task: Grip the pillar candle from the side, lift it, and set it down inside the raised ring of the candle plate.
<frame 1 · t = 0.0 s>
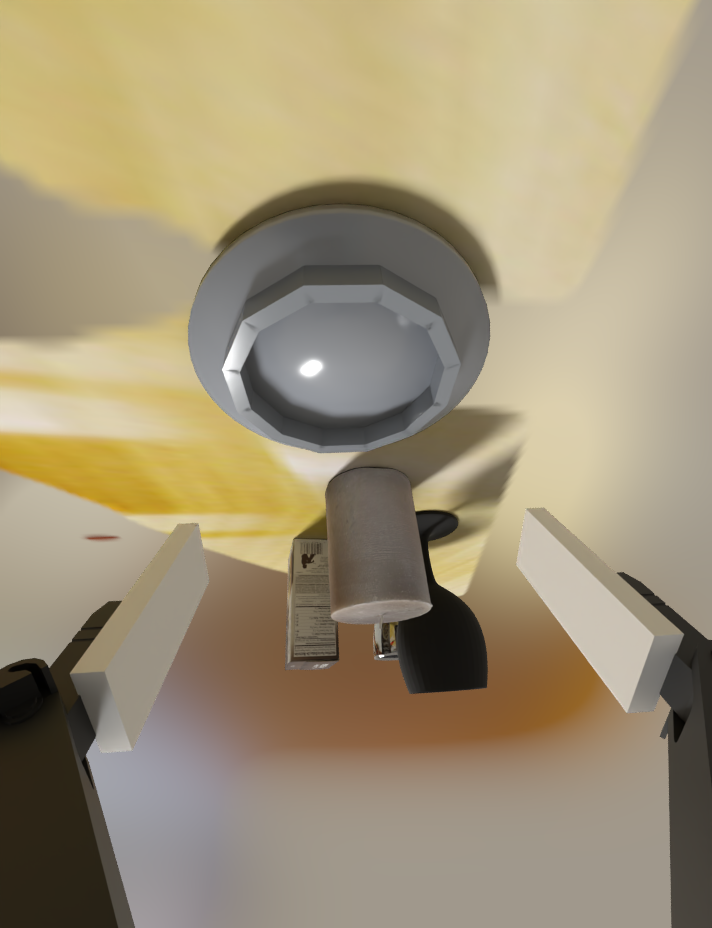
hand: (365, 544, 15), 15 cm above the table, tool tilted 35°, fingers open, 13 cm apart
coffee box: (310, 548, 59), on the table
pillar candle: (369, 486, 43), on the table
wine glass: (420, 525, 54), on the table
wine glass 2: (389, 558, 66), on the table
candle plate: (341, 360, 27), on the table
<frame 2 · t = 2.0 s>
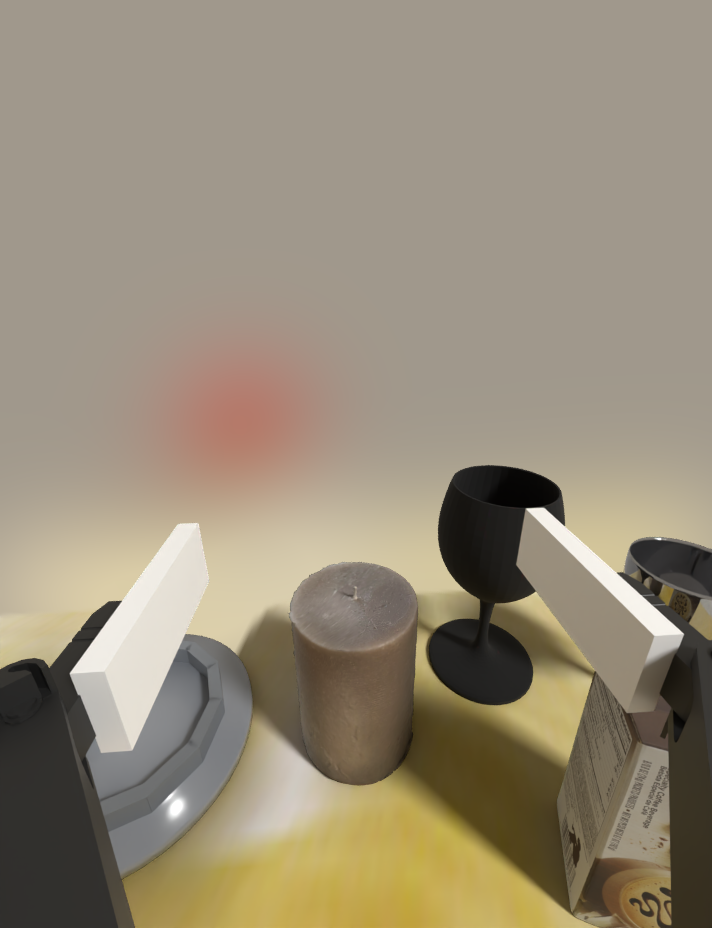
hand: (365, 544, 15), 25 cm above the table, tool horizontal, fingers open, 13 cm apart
coffee box: (638, 881, 24), on the table
pillar candle: (356, 724, 34), on the table
wine glass: (478, 659, 40), on the table
wine glass 2: (639, 699, 35), on the table
candle plate: (133, 733, 33), on the table
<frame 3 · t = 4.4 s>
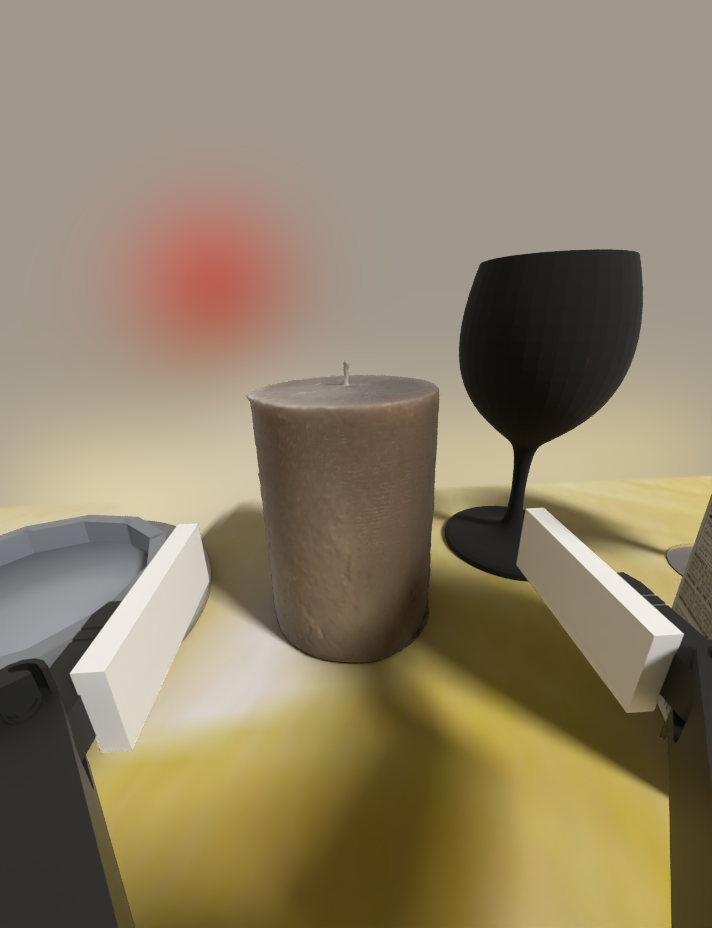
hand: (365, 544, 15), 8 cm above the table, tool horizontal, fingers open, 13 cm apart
pillar candle: (350, 603, 25), on the table
wine glass: (509, 542, 31), on the table
candle plate: (41, 614, 24), on the table
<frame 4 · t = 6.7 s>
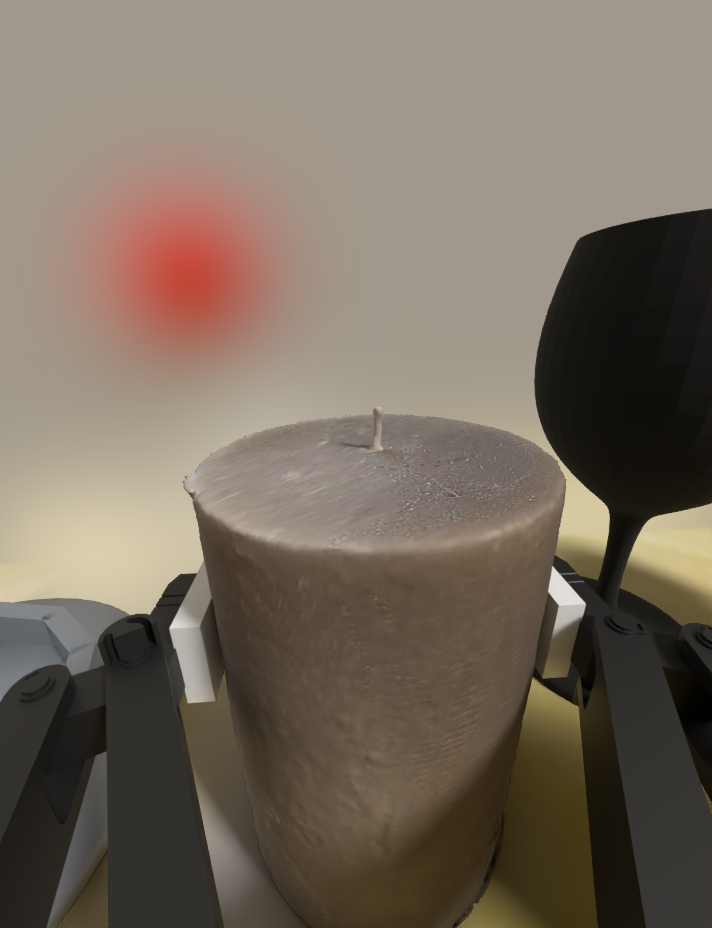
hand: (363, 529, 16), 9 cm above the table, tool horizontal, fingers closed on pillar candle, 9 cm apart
pillar candle: (373, 771, 16), on the table, touching gripper
wine glass: (593, 639, 22), on the table
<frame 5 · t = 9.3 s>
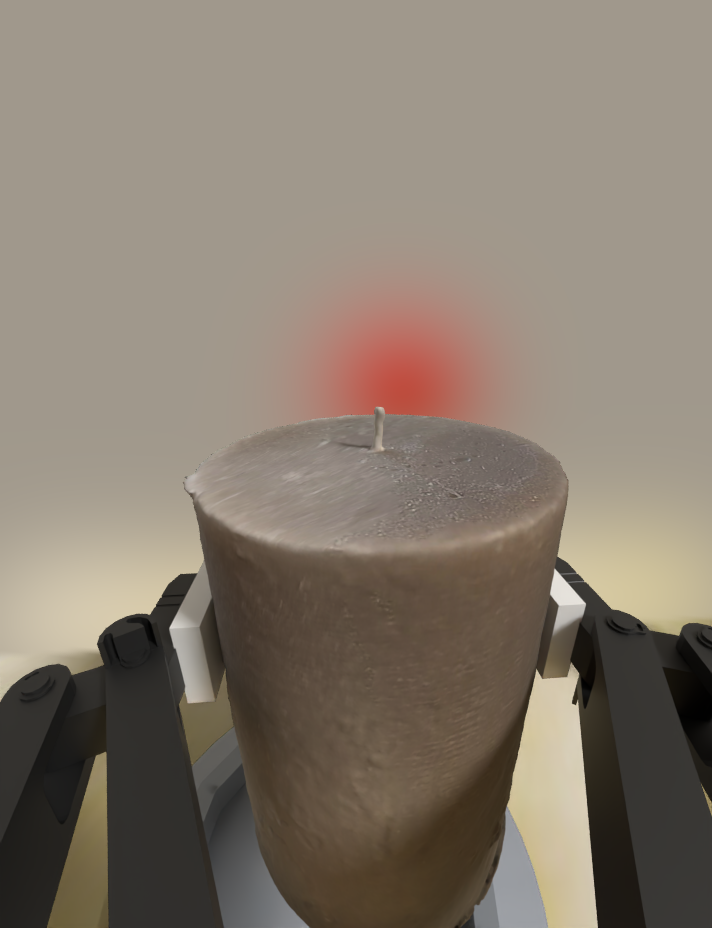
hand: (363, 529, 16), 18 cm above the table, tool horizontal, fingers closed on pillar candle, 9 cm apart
pillar candle: (374, 772, 15), point 9 cm above the table, touching gripper
candle plate: (330, 883, 19), on the table
when the fingers open (11 cm above the table, at t = 11.8 s): pillar candle drops 1 cm, resting on candle plate.
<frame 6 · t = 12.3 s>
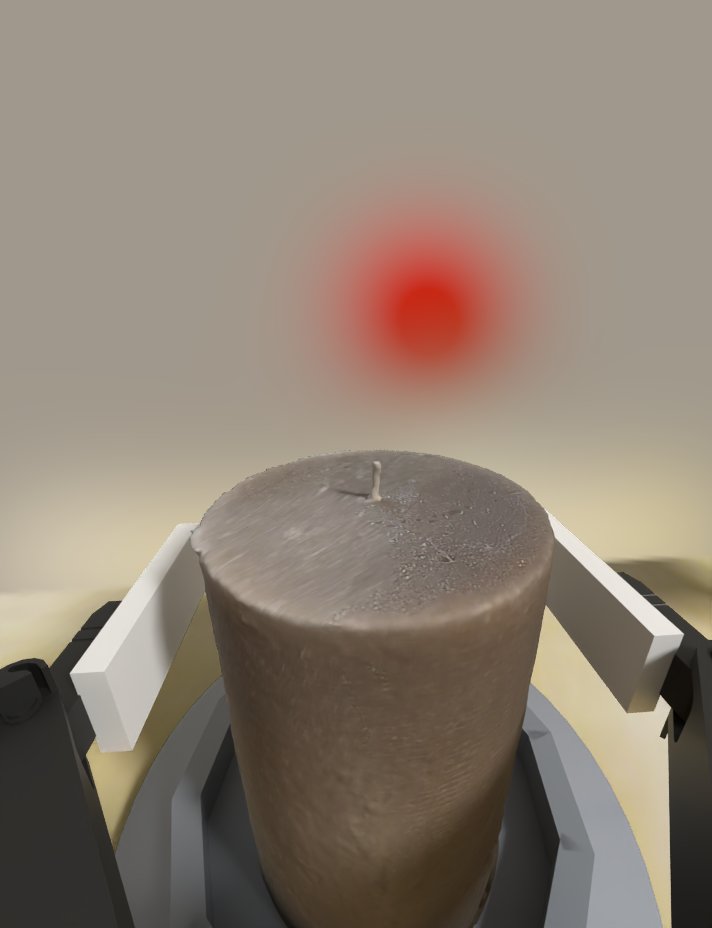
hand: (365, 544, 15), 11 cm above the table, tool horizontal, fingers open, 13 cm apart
pillar candle: (372, 795, 16), point 1 cm above the table, touching candle plate
candle plate: (374, 805, 16), on the table
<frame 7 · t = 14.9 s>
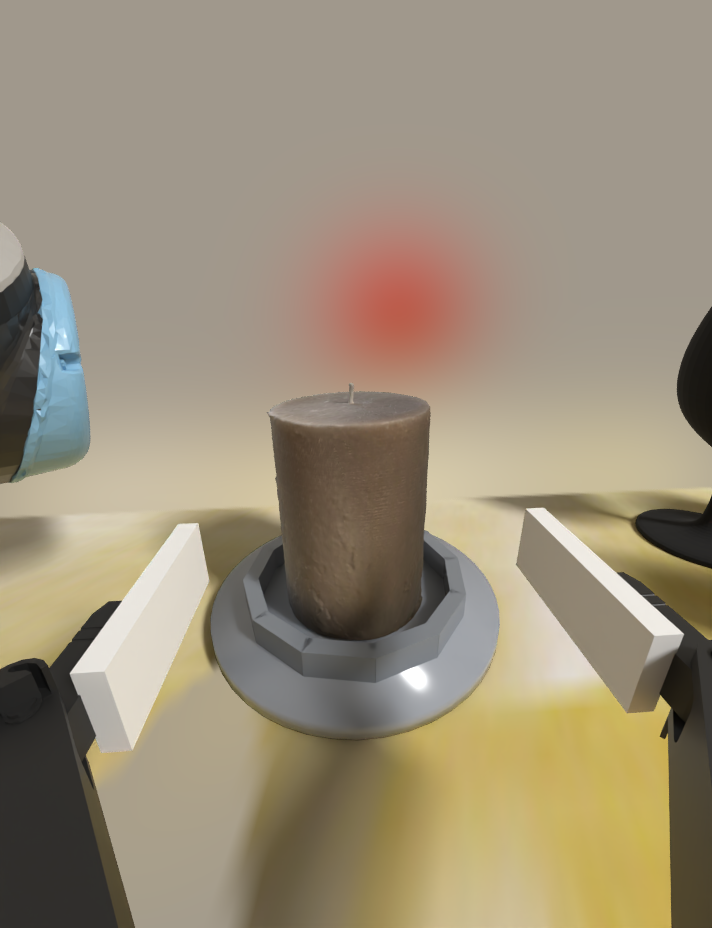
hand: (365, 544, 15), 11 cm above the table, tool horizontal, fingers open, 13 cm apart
pillar candle: (353, 591, 28), point 1 cm above the table, touching candle plate
wine glass: (702, 541, 35), on the table
candle plate: (355, 599, 28), on the table
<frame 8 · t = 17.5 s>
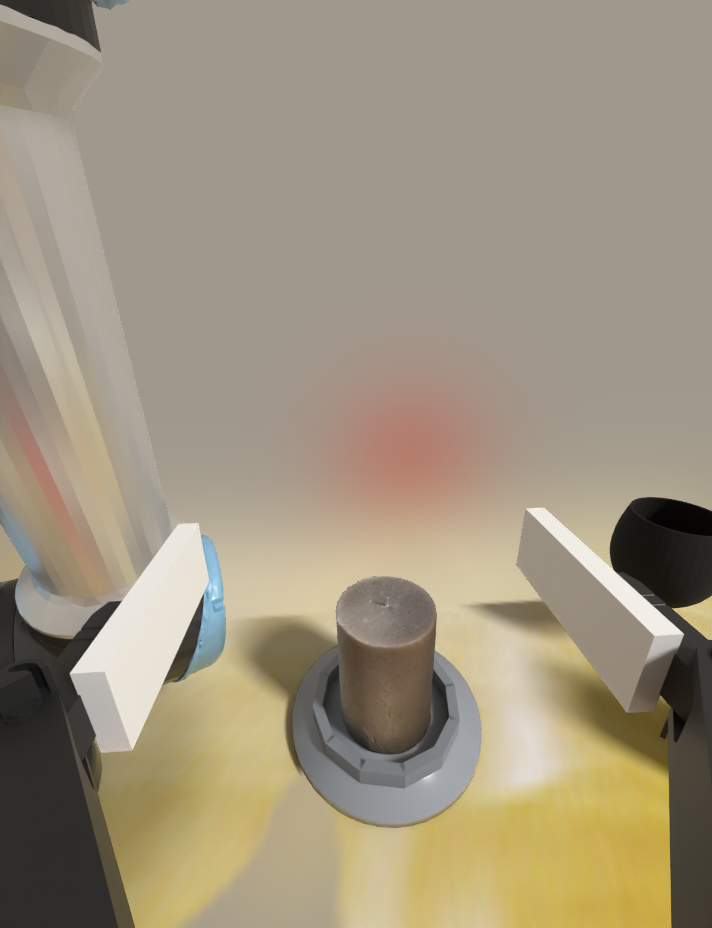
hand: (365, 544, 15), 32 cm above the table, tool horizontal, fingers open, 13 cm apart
pillar candle: (384, 708, 41), point 1 cm above the table, touching candle plate
wine glass: (631, 654, 49), on the table
candle plate: (385, 713, 42), on the table
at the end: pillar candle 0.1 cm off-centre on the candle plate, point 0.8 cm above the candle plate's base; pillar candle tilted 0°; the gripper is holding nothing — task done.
